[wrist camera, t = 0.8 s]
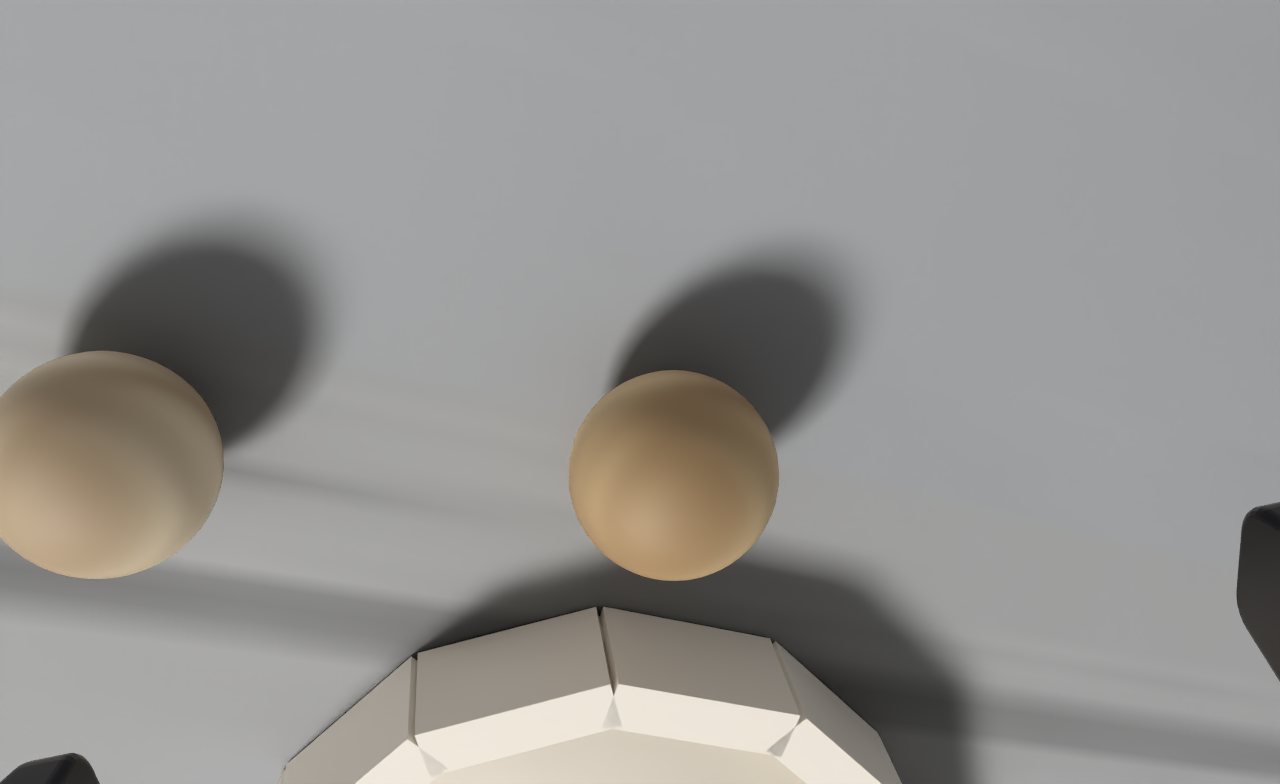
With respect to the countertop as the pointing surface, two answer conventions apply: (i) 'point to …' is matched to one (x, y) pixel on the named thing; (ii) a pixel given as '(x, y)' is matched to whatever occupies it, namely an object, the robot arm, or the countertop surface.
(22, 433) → the maple bead
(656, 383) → the oak bead
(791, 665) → the groove tray
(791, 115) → the countertop surface
